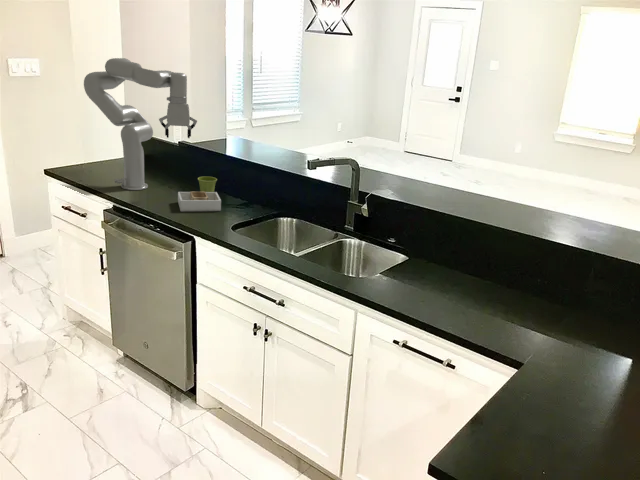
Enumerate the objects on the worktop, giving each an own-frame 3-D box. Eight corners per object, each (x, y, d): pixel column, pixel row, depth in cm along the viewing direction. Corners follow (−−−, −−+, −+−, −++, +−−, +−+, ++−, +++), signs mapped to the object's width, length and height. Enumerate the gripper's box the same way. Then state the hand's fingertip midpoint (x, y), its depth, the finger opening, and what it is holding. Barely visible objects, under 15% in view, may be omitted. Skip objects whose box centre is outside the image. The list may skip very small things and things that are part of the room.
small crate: (192, 208, 247) (192, 197, 245) (190, 201, 255) (190, 191, 254) (208, 208, 249) (208, 197, 247) (205, 201, 258) (205, 191, 256)
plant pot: (193, 196, 268) (193, 179, 265) (203, 192, 276) (204, 175, 273) (210, 199, 265) (210, 182, 262) (220, 195, 273) (220, 178, 270)
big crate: (180, 211, 243) (180, 200, 242) (177, 202, 256) (177, 192, 254) (220, 211, 249) (221, 200, 248) (216, 202, 262) (216, 192, 260)
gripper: (159, 100, 245) (159, 138, 251) (198, 102, 251) (197, 139, 256) (158, 98, 251) (158, 135, 257) (196, 100, 257) (195, 136, 263)
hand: (178, 137), depth 257 cm, fingers open, 9 cm apart
